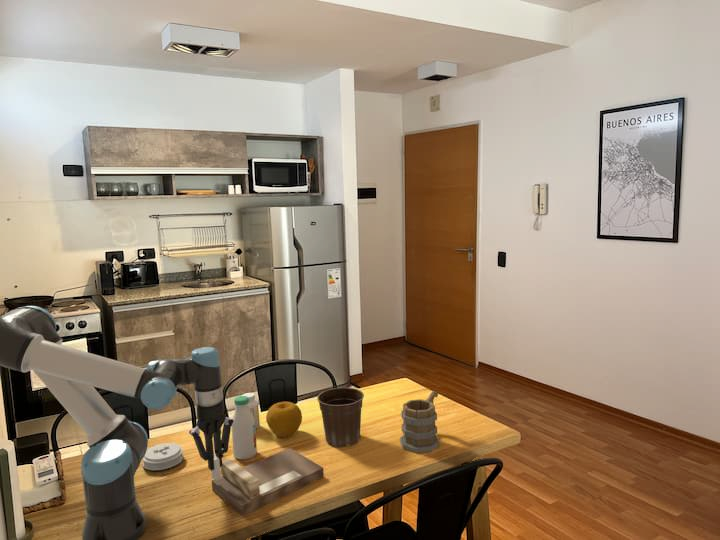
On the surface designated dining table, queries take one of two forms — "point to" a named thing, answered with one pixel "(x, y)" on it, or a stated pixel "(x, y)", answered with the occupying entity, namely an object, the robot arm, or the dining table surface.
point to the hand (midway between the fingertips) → (216, 478)
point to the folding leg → (240, 477)
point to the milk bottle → (243, 430)
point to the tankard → (419, 425)
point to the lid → (162, 456)
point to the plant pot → (341, 415)
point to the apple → (284, 419)
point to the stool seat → (270, 480)
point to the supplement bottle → (253, 408)
